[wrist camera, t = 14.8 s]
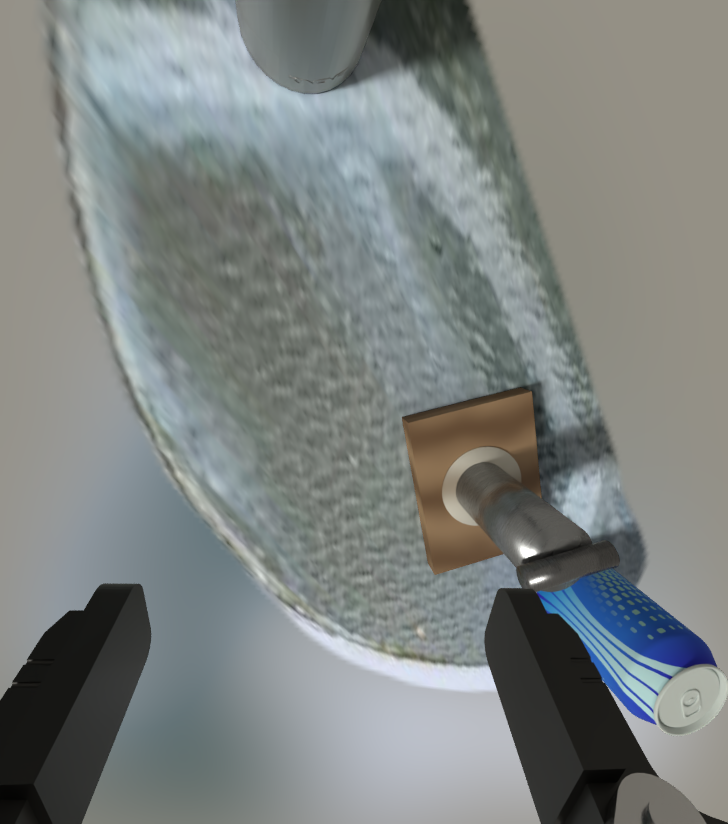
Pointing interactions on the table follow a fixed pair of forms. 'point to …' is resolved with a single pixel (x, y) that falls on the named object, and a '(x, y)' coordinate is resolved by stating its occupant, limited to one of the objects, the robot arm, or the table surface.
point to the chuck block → (457, 451)
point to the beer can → (642, 652)
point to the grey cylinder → (531, 530)
